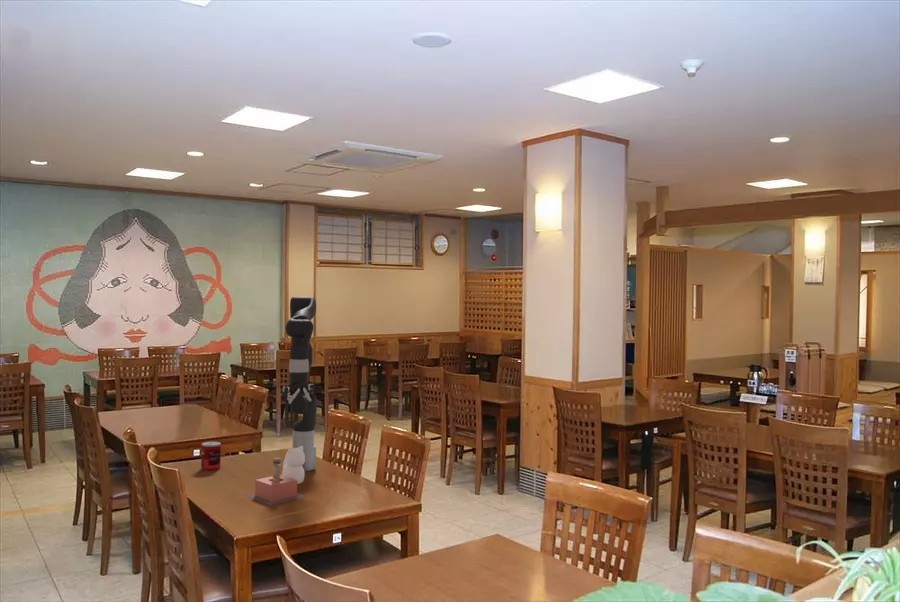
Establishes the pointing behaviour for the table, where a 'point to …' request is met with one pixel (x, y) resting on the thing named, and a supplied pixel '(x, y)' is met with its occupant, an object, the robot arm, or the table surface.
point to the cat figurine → (294, 464)
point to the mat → (274, 501)
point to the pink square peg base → (275, 488)
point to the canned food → (211, 456)
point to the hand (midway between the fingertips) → (298, 412)
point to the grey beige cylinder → (276, 469)
